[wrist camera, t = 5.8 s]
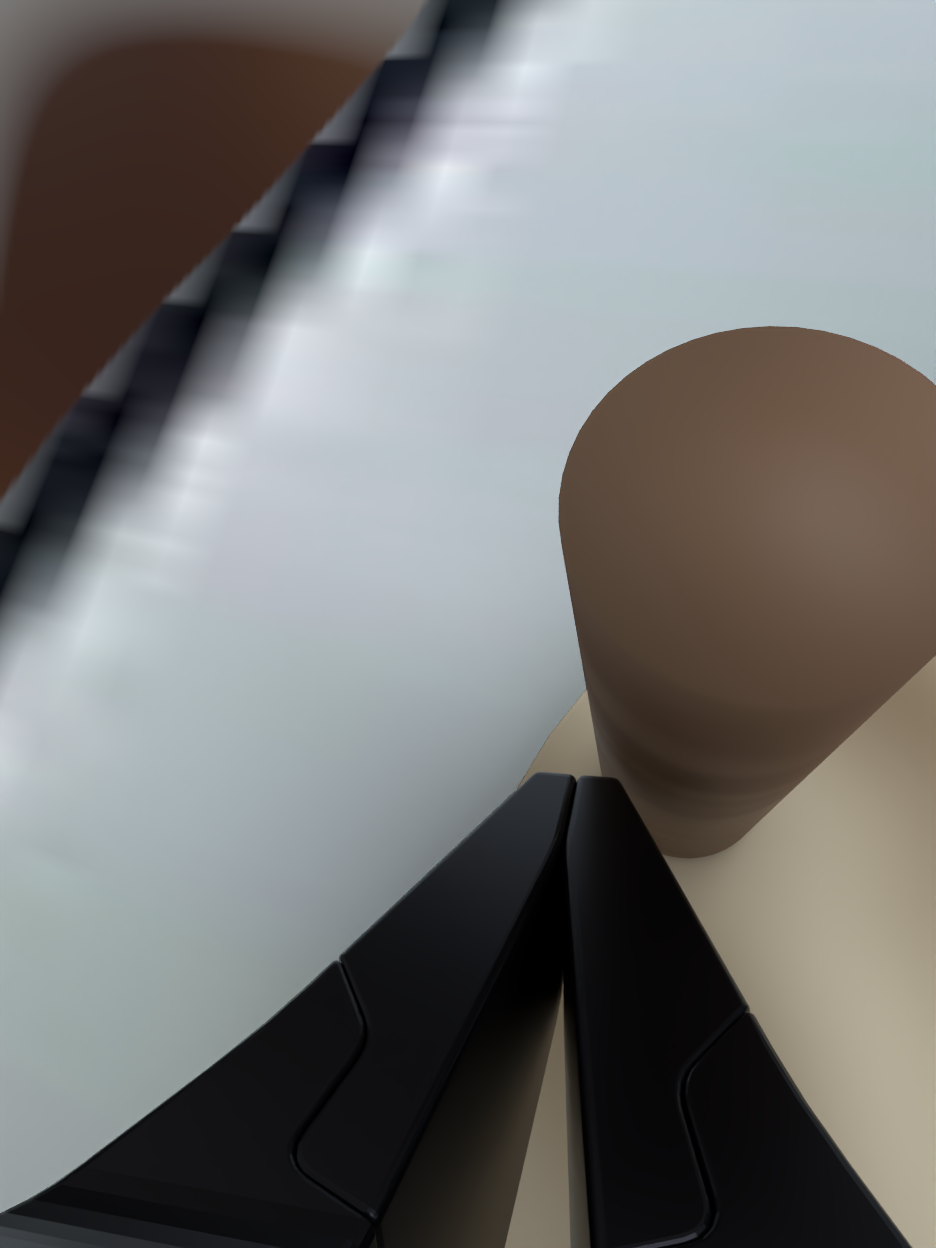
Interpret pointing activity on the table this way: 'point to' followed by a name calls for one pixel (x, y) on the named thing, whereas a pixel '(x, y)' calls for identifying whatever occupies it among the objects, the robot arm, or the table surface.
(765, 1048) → the robot arm
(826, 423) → the disc
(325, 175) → the table surface
